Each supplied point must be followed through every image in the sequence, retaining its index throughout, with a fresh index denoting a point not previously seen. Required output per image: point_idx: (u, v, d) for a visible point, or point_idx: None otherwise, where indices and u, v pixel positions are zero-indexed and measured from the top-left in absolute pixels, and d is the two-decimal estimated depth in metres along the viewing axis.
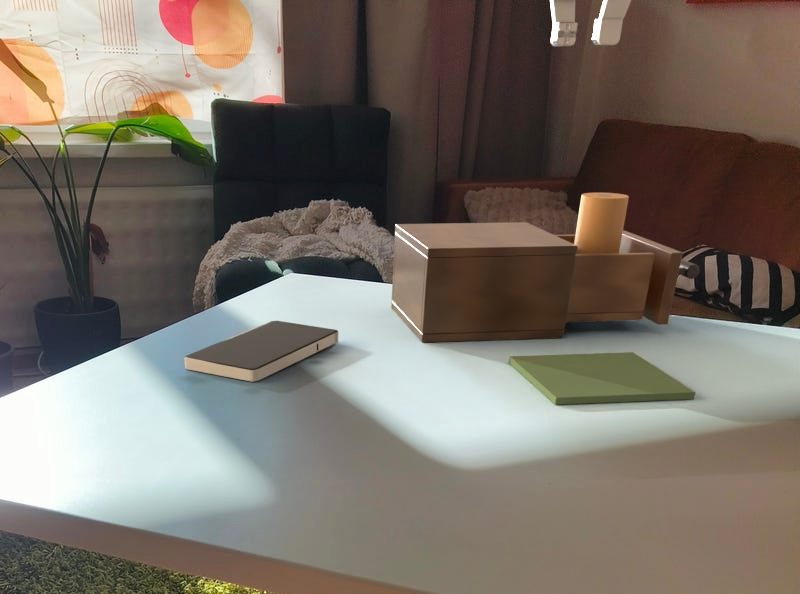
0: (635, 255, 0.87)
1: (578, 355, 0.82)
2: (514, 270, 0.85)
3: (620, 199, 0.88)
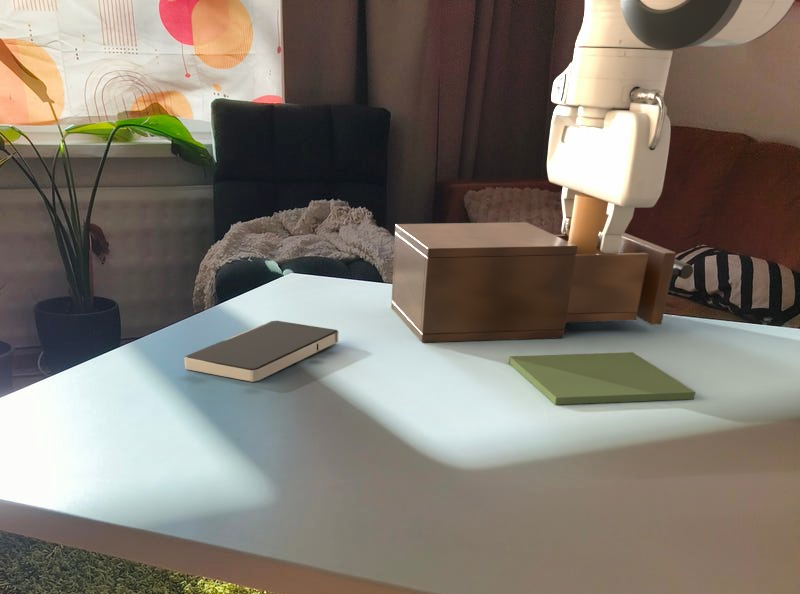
0: (628, 255, 0.87)
1: (578, 355, 0.82)
2: (514, 270, 0.85)
3: None
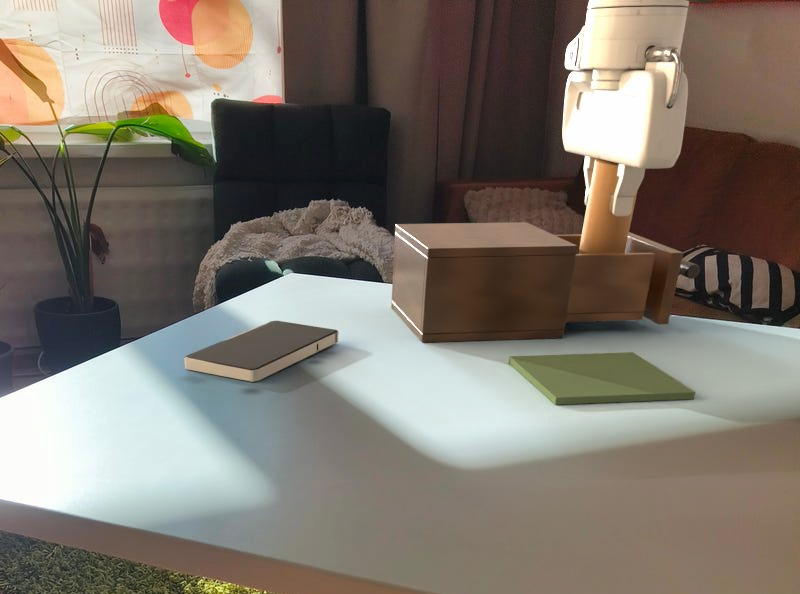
0: (635, 255, 0.87)
1: (578, 355, 0.82)
2: (514, 270, 0.85)
3: None
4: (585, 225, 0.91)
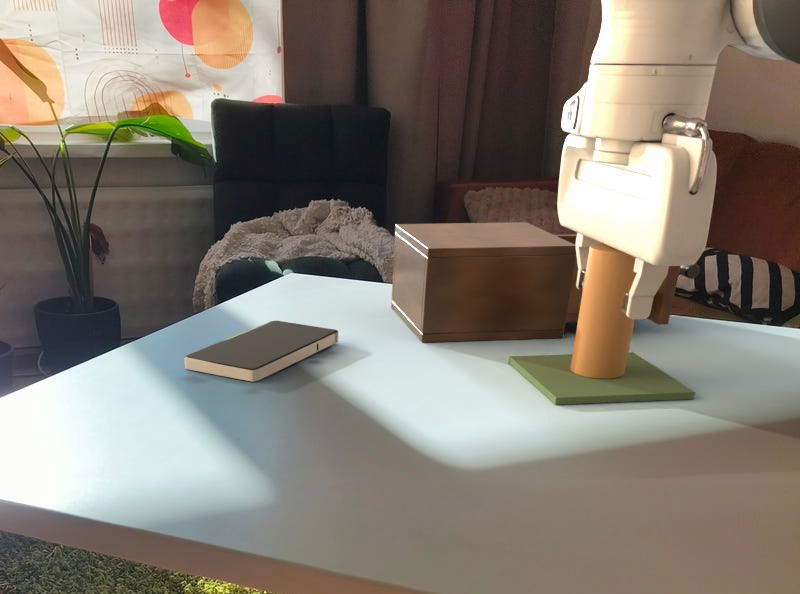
0: None
1: None
2: (514, 270, 0.85)
3: None
4: (580, 323, 0.75)
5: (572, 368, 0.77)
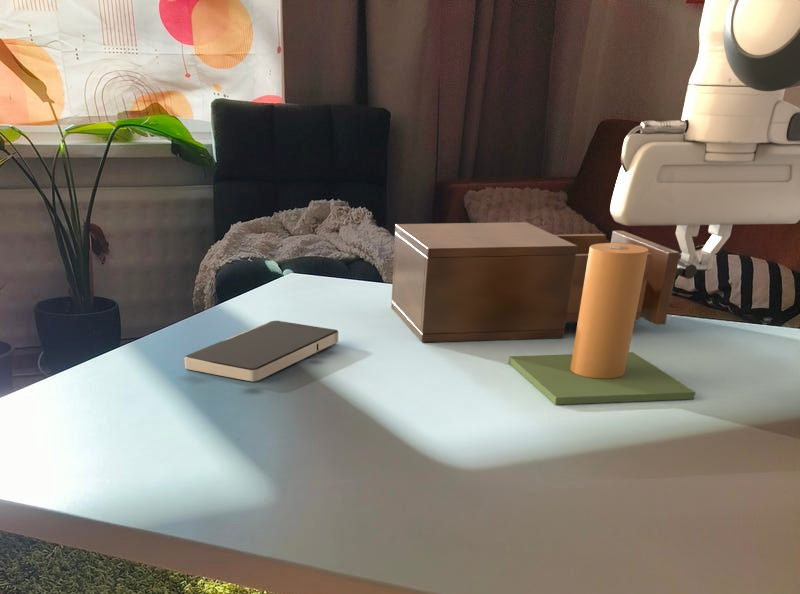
0: None
1: None
2: (514, 270, 0.85)
3: (638, 254, 0.71)
4: (580, 323, 0.75)
5: (572, 368, 0.77)
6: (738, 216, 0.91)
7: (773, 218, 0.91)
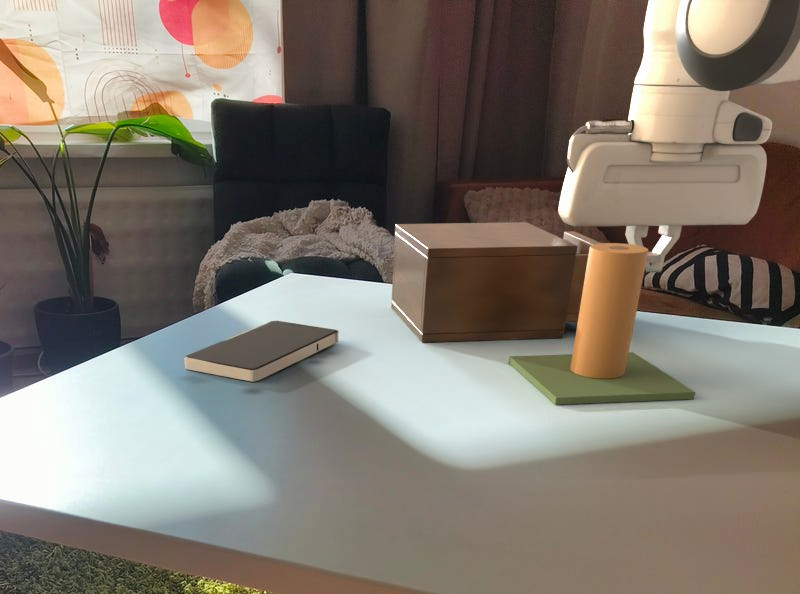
0: (578, 256, 0.86)
1: None
2: (514, 270, 0.85)
3: (638, 254, 0.71)
4: (580, 323, 0.75)
5: (572, 368, 0.77)
6: (687, 217, 0.90)
7: (722, 219, 0.91)
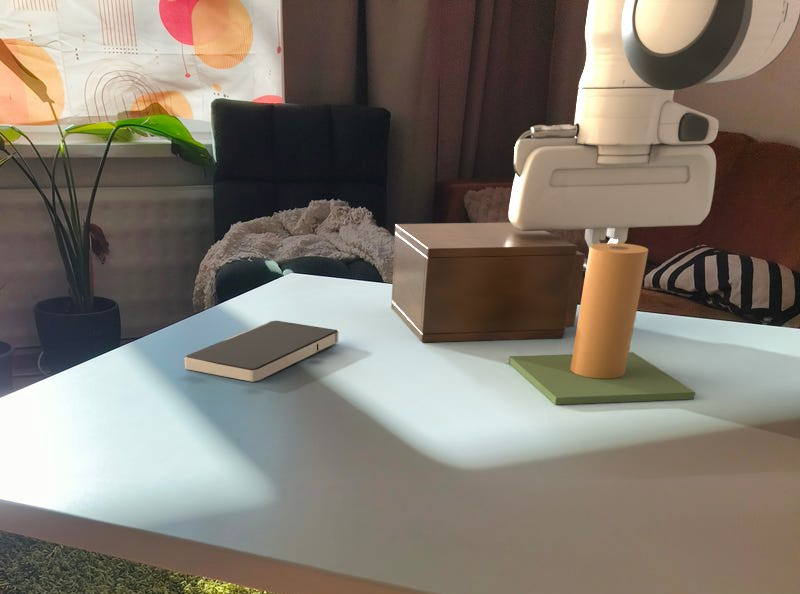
0: None
1: None
2: (514, 270, 0.85)
3: (638, 254, 0.71)
4: (580, 323, 0.75)
5: (572, 368, 0.77)
6: (637, 219, 0.90)
7: (674, 220, 0.90)
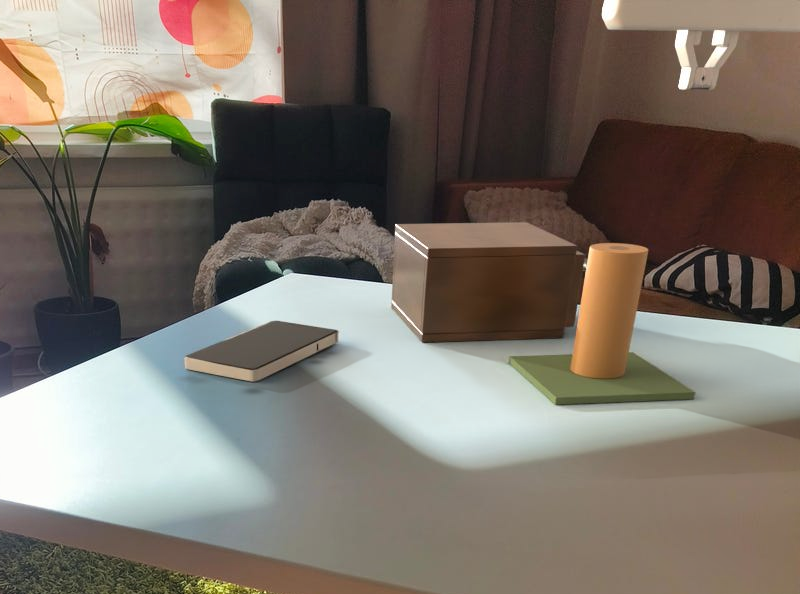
0: None
1: None
2: (514, 270, 0.85)
3: (638, 254, 0.71)
4: (580, 323, 0.75)
5: (572, 368, 0.77)
6: (745, 19, 0.81)
7: (784, 24, 0.82)
